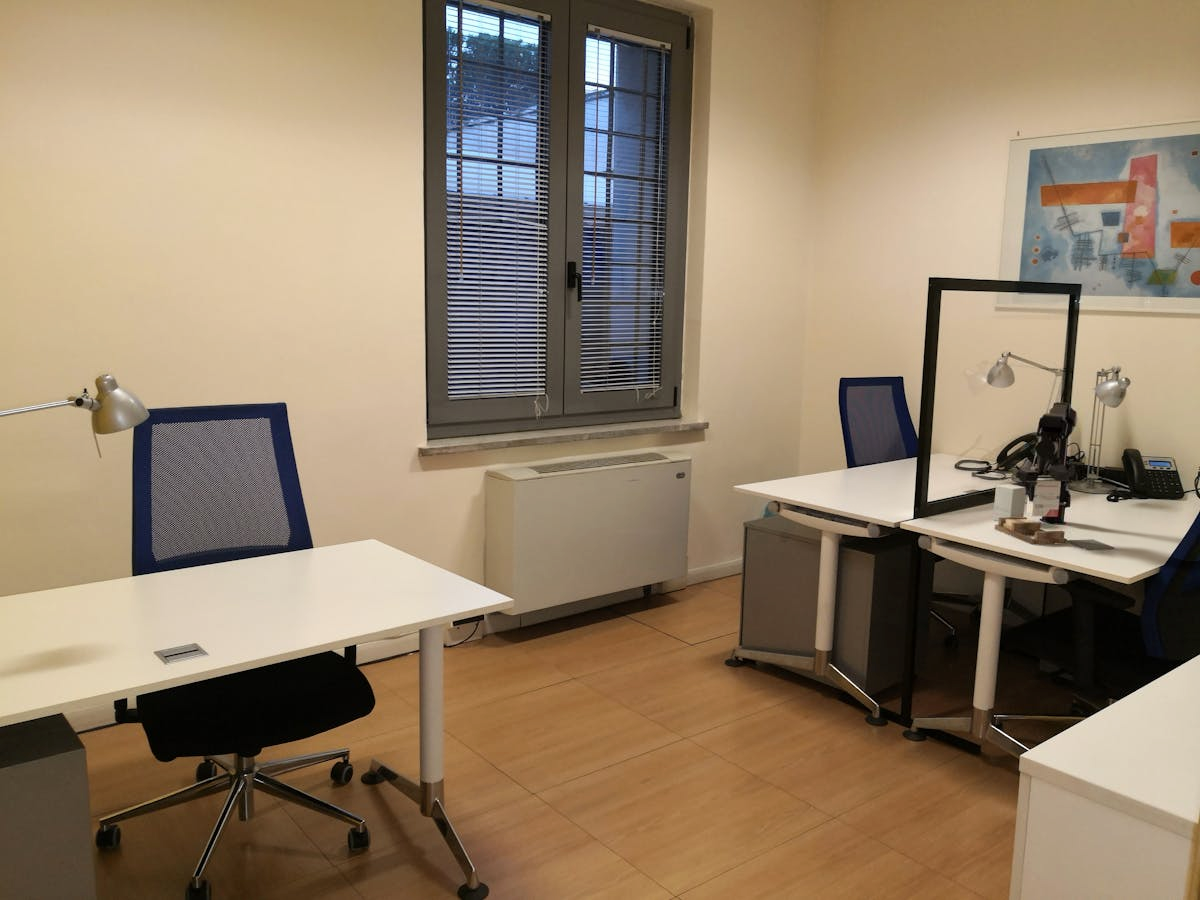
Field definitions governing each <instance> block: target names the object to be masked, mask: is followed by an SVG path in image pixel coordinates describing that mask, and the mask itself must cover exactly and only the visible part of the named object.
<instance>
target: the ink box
mask: <svg viewBox="0 0 1200 900" xmlns="http://www.w3.org/2000/svg"><path fill="white" fill-rule="evenodd" d="M1036 482H1038V483H1037V484H1036V486H1035V491H1034V499H1033V501H1030V500H1029V497H1028V496H1027V501H1026V514H1027V515H1030V516H1031V517H1042V516H1052V517H1057V516H1058V509H1059V498H1060V487H1061V481H1056V480H1054V479H1050V478H1038V479H1037V480H1036Z"/></svg>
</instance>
